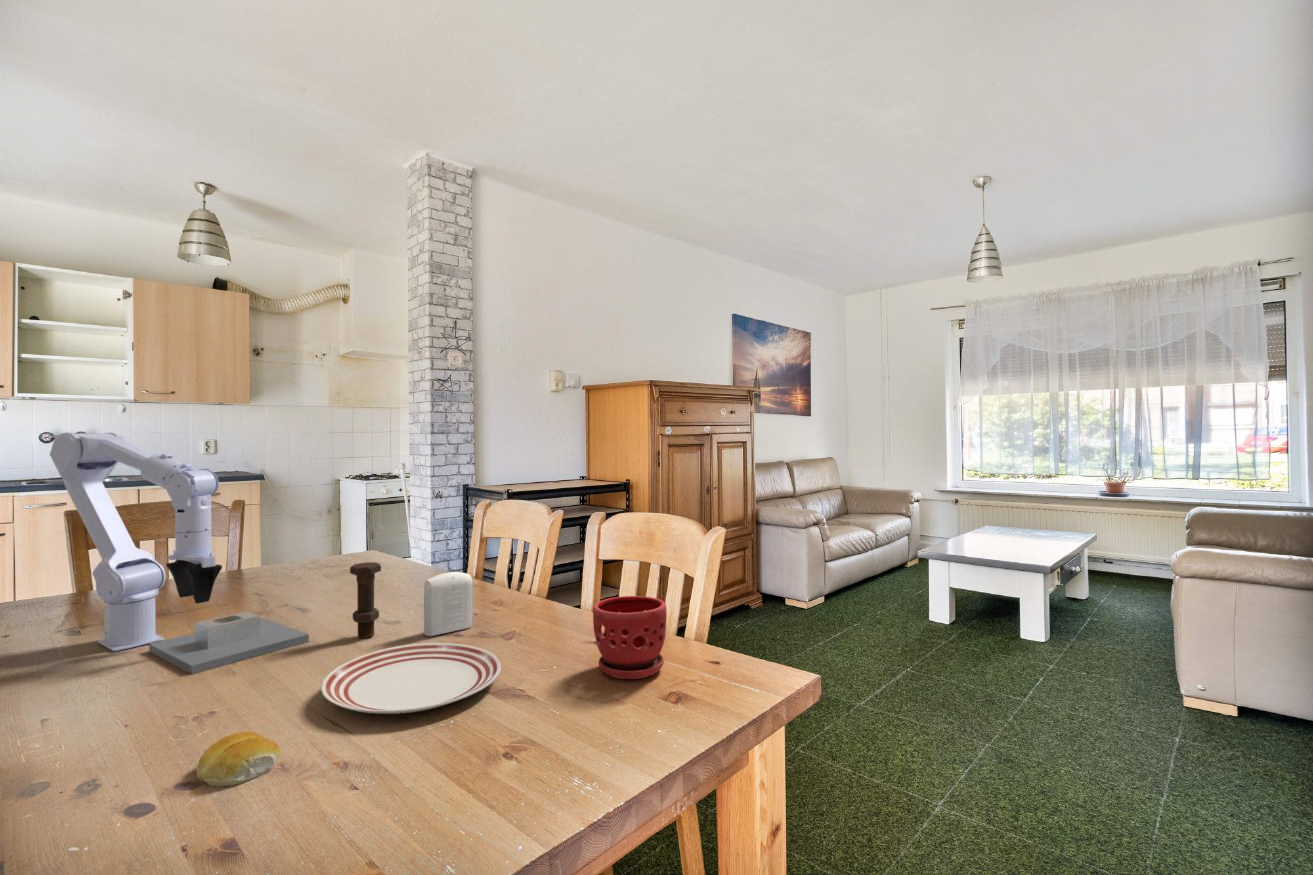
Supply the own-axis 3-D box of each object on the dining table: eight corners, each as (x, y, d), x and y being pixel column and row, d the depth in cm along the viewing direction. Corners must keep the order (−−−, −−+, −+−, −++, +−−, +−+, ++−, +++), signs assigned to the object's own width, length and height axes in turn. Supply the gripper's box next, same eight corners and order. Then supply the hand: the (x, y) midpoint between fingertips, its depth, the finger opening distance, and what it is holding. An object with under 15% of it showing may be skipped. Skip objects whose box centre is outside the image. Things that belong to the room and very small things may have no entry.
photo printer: (466, 623, 136) (466, 567, 135) (475, 627, 132) (475, 570, 132) (420, 633, 128) (420, 575, 128) (429, 638, 125) (429, 578, 125)
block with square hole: (195, 643, 118) (195, 622, 118) (247, 630, 126) (246, 611, 126) (207, 649, 115) (207, 627, 115) (259, 635, 123) (259, 615, 123)
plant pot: (677, 662, 112) (677, 597, 112) (646, 690, 100) (646, 617, 100) (615, 652, 118) (615, 590, 118) (579, 676, 106) (578, 607, 106)
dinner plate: (531, 669, 110) (531, 651, 110) (427, 743, 84) (427, 719, 84) (407, 651, 119) (407, 634, 118) (278, 713, 93) (278, 691, 93)
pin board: (149, 651, 118) (149, 631, 118) (262, 624, 135) (261, 606, 135) (191, 674, 107) (191, 651, 107) (308, 641, 124) (308, 621, 124)
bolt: (367, 642, 123) (367, 568, 123) (345, 640, 124) (345, 567, 124) (385, 633, 129) (385, 562, 129) (364, 631, 130) (364, 561, 130)
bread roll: (255, 745, 83) (255, 716, 83) (289, 765, 78) (289, 734, 78) (183, 774, 76) (182, 742, 76) (215, 797, 71) (215, 763, 71)
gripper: (154, 530, 121) (155, 598, 121) (184, 537, 113) (184, 609, 113) (196, 525, 127) (197, 590, 127) (227, 531, 119) (227, 601, 119)
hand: (194, 599), depth 121 cm, fingers open, 7 cm apart
